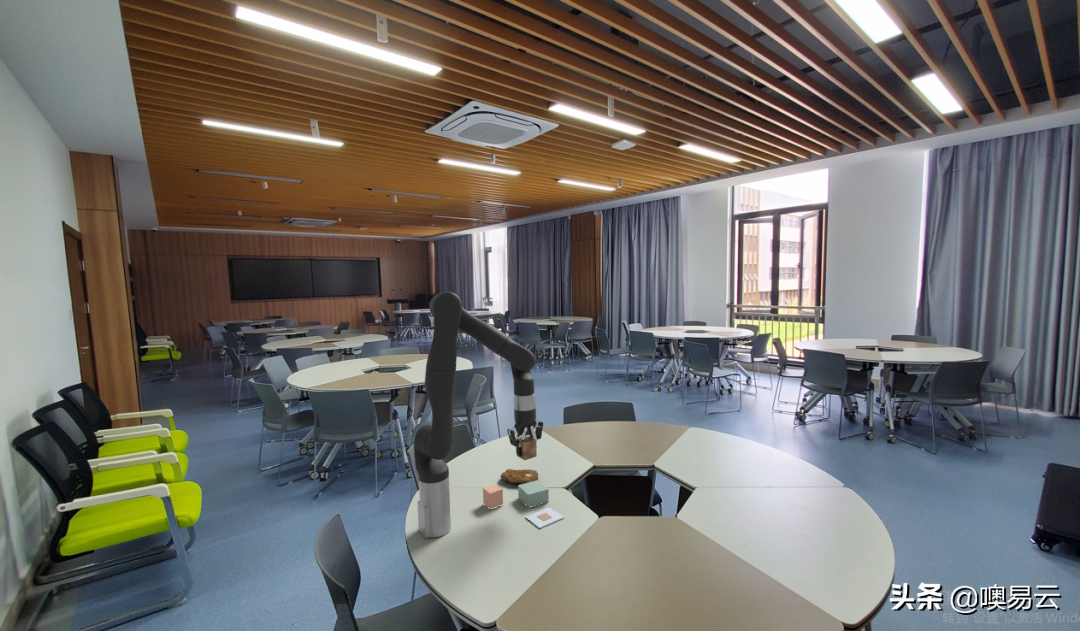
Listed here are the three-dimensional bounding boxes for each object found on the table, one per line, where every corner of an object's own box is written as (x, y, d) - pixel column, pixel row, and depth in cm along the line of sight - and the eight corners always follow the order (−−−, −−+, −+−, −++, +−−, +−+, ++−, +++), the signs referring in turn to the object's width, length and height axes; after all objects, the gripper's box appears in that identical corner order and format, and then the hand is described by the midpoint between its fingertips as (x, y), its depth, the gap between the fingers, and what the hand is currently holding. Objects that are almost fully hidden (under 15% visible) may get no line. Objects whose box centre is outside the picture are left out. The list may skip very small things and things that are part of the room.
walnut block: (524, 460, 147) (524, 443, 147) (516, 455, 151) (515, 439, 151) (536, 456, 150) (536, 439, 150) (528, 451, 154) (527, 435, 154)
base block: (528, 508, 150) (528, 494, 149) (518, 498, 157) (518, 485, 156) (548, 502, 153) (548, 489, 153) (538, 493, 160) (537, 480, 160)
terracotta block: (490, 510, 149) (490, 493, 148) (483, 504, 153) (482, 488, 152) (503, 505, 152) (502, 489, 151) (495, 500, 156) (495, 483, 155)
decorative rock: (498, 489, 165) (538, 490, 165) (498, 479, 164) (538, 479, 164) (501, 474, 176) (538, 475, 176) (501, 464, 176) (538, 465, 176)
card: (539, 528, 137) (539, 527, 137) (525, 518, 143) (525, 516, 143) (564, 518, 143) (564, 516, 143) (549, 508, 149) (549, 506, 149)
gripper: (513, 413, 142) (515, 463, 143) (548, 404, 150) (549, 451, 152) (501, 408, 148) (503, 456, 150) (535, 399, 156) (537, 445, 158)
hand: (526, 453), depth 151 cm, fingers closed on walnut block, 5 cm apart
